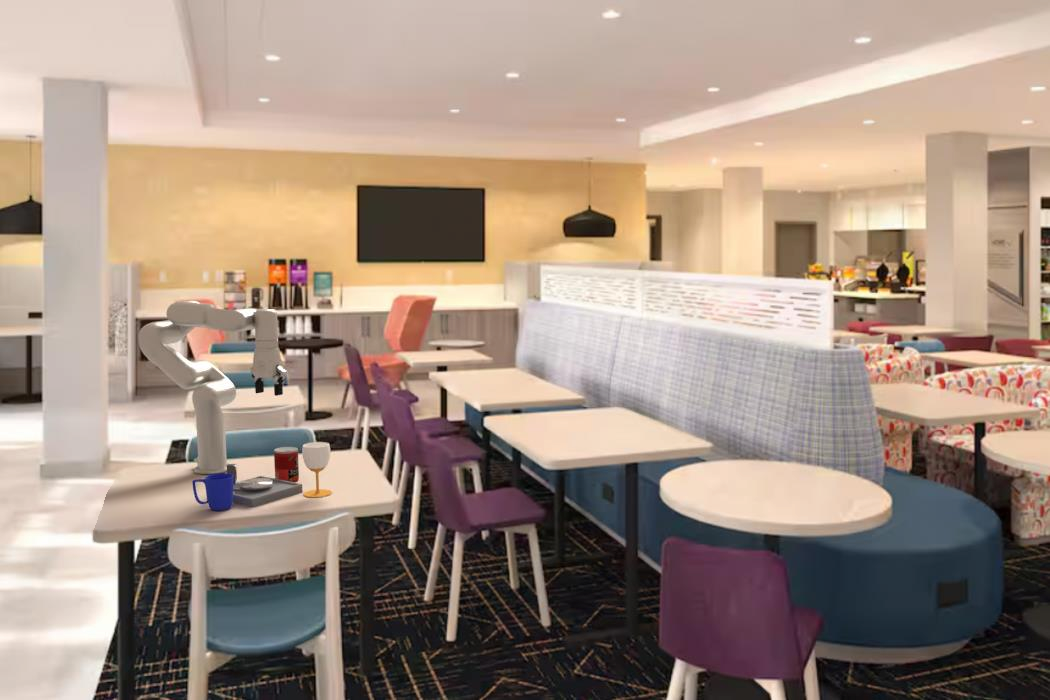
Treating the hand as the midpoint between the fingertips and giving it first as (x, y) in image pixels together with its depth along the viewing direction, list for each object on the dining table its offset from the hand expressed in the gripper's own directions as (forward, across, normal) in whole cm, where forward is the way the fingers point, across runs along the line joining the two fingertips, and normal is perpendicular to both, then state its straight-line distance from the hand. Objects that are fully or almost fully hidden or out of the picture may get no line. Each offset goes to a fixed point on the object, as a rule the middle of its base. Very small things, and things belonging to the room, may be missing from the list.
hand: (269, 393), depth 307 cm
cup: (+28, +33, -10) cm, 45 cm away
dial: (+25, +16, -22) cm, 37 cm away
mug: (+28, +18, -38) cm, 51 cm away
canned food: (+28, +12, -4) cm, 31 cm away
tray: (+28, +17, -21) cm, 39 cm away
